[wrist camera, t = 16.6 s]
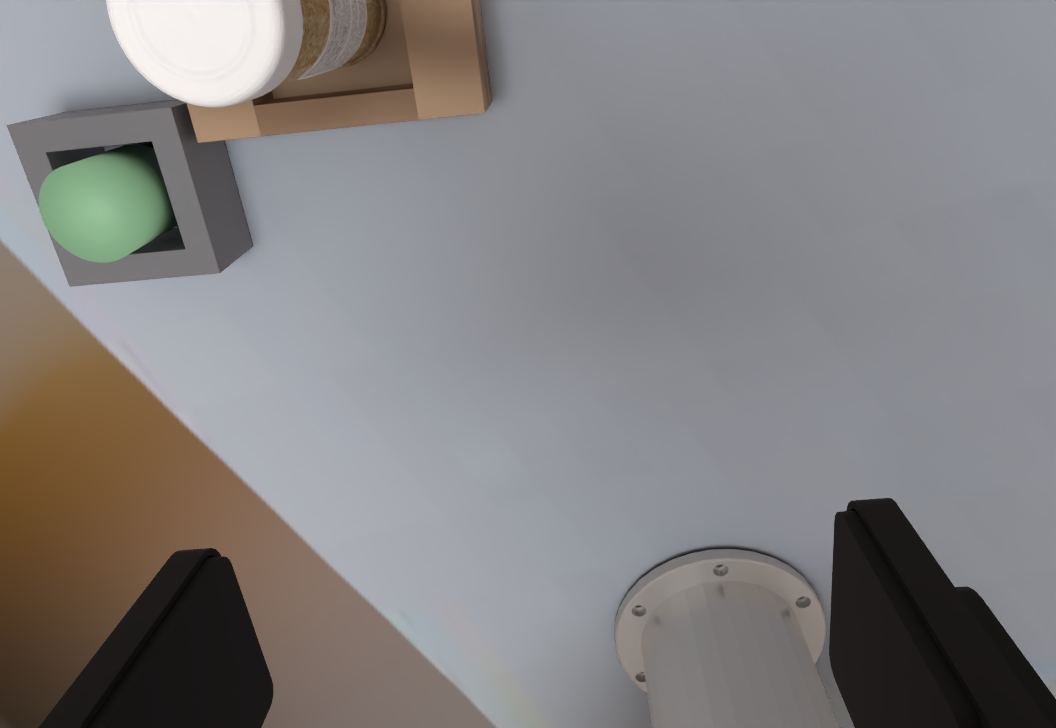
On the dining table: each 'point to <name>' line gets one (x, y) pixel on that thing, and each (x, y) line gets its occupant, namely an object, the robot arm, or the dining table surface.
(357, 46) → the sprinkles bottle
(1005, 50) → the dining table surface
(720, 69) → the dining table surface
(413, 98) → the wooden compartment tray
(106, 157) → the button
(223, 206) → the gray square box
